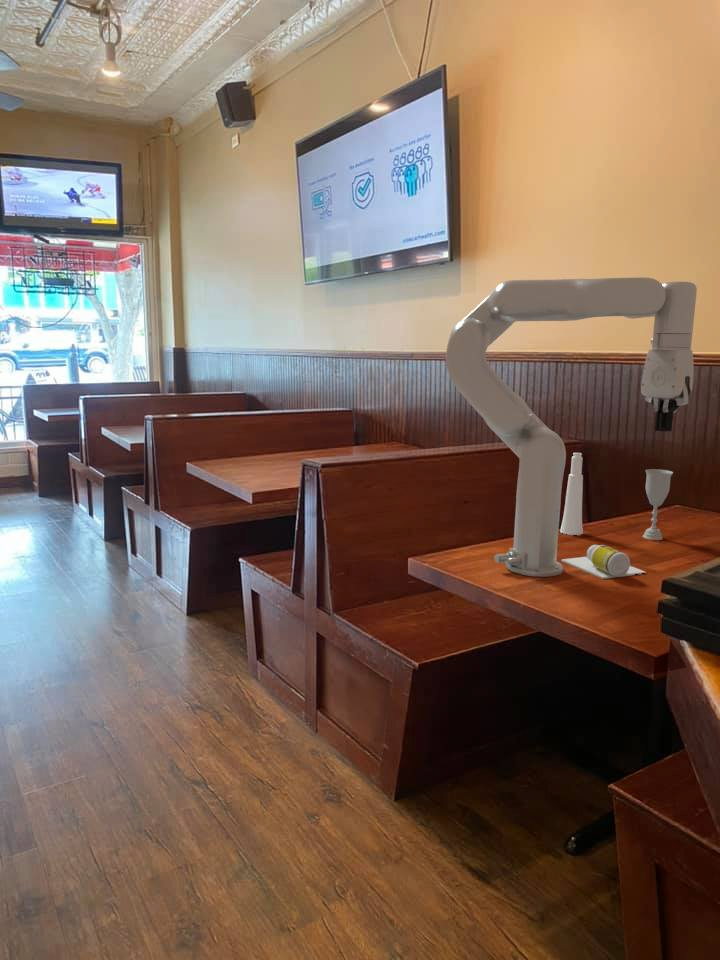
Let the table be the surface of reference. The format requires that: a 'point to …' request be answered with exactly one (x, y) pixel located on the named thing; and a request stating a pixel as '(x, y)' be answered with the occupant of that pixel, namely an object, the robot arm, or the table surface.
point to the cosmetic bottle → (574, 499)
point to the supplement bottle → (609, 560)
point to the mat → (588, 567)
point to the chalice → (656, 497)
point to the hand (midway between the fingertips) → (663, 430)
